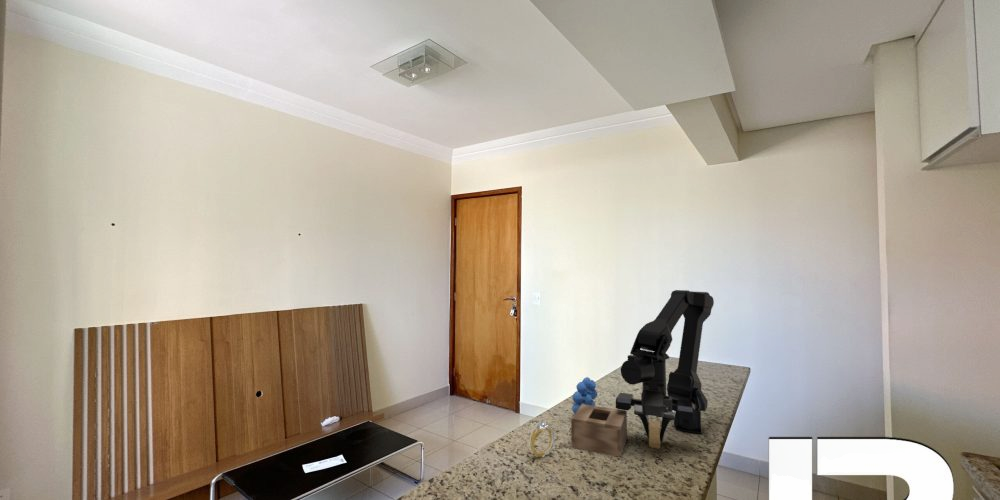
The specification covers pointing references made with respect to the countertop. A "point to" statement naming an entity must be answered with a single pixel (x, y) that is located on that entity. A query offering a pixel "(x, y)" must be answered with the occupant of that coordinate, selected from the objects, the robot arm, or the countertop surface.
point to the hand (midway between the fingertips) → (655, 439)
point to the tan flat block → (654, 434)
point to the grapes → (584, 394)
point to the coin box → (599, 429)
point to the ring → (535, 435)
